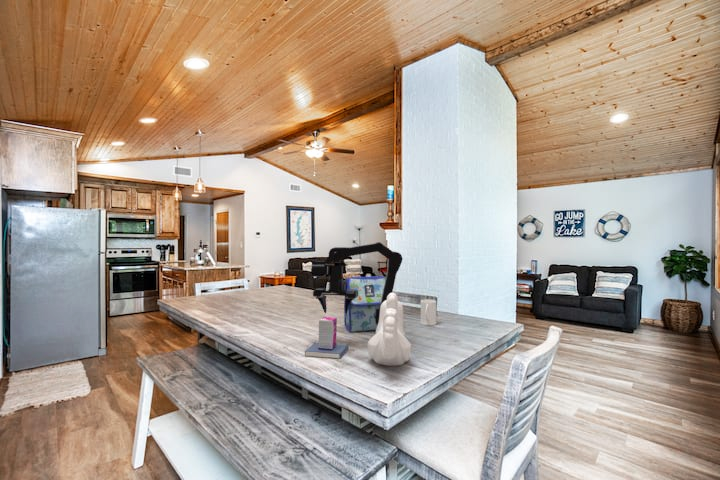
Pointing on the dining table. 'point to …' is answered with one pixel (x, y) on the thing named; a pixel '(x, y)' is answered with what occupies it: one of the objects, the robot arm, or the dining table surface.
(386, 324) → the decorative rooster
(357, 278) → the lunch bag
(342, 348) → the notebook
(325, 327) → the supplement box
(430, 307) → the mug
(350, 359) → the dining table surface
